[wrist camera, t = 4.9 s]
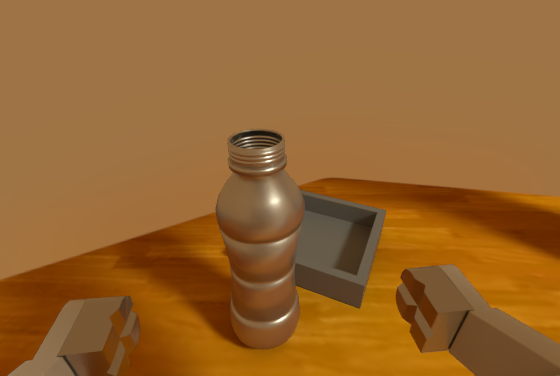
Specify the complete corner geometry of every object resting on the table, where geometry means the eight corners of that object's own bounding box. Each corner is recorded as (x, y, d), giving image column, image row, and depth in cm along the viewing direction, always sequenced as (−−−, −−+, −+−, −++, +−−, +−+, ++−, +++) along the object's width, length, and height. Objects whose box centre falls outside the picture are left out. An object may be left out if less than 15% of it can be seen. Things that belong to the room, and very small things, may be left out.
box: (381, 230, 42) (386, 210, 40) (359, 308, 32) (364, 285, 30) (290, 206, 47) (291, 187, 46) (245, 266, 37) (243, 245, 35)
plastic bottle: (226, 309, 32) (197, 128, 21) (287, 292, 33) (288, 117, 23) (239, 369, 26) (208, 168, 16) (310, 346, 28) (325, 151, 18)
